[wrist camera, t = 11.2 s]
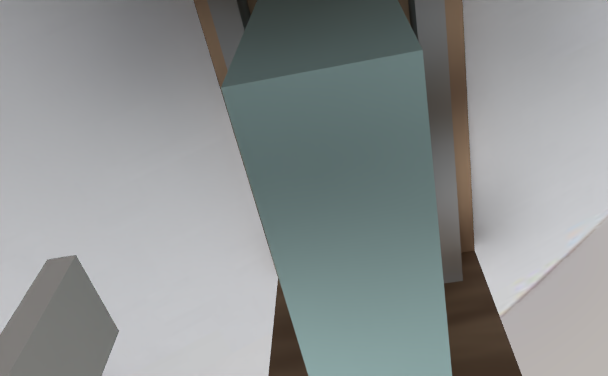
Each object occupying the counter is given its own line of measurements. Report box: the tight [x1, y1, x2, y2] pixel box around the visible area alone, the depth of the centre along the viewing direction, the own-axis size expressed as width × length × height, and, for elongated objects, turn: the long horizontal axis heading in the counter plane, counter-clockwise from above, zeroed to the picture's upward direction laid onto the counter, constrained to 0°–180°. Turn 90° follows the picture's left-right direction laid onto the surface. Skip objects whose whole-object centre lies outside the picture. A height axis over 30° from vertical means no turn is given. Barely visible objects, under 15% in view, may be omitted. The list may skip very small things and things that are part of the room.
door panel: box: [221, 0, 452, 376], centre depth 18 cm, size 10×4×11 cm, turn 12°
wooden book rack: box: [194, 0, 522, 376], centre depth 19 cm, size 22×10×12 cm, turn 12°
